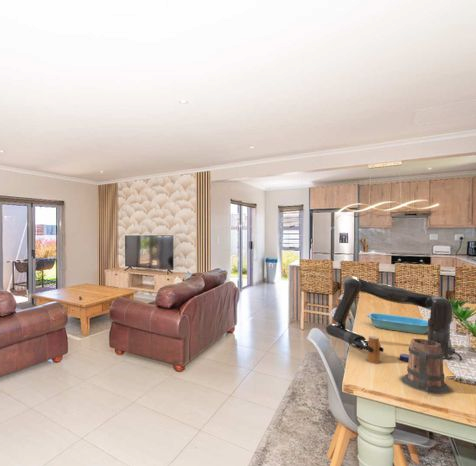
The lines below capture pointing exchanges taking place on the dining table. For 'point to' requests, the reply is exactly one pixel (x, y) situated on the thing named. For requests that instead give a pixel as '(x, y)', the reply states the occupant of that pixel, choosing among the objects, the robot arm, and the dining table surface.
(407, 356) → the lid
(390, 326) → the casserole dish
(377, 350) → the jar
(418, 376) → the tankard
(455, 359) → the dining table surface
